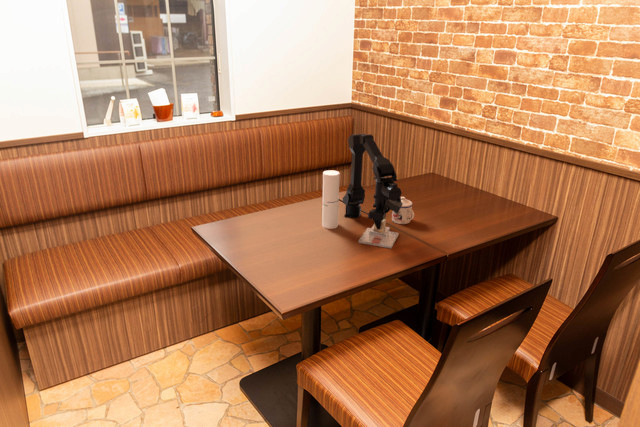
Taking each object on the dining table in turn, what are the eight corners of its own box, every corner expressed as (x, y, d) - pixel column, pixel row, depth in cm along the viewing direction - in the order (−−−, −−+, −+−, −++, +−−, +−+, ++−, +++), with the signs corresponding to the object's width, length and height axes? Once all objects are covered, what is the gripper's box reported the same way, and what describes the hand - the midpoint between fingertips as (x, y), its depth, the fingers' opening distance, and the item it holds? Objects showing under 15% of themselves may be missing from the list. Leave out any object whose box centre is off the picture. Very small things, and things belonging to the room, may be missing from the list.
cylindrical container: (336, 229, 206) (338, 175, 196) (320, 227, 207) (321, 174, 198) (339, 223, 213) (340, 170, 203) (323, 221, 214) (324, 169, 204)
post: (373, 237, 196) (374, 220, 193) (375, 233, 200) (376, 216, 197) (382, 239, 195) (383, 221, 192) (384, 235, 199) (386, 218, 196)
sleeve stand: (358, 242, 194) (359, 233, 192) (367, 229, 206) (368, 220, 205) (391, 248, 190) (392, 238, 188) (398, 234, 202) (399, 225, 200)
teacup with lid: (387, 219, 217) (388, 196, 213) (401, 215, 222) (403, 192, 217) (405, 228, 208) (407, 204, 204) (419, 223, 213) (422, 200, 208)
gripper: (396, 203, 179) (393, 239, 185) (406, 187, 195) (403, 221, 201) (368, 199, 183) (366, 234, 189) (380, 184, 199) (378, 217, 205)
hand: (379, 227), depth 196 cm, fingers closed on post, 4 cm apart
